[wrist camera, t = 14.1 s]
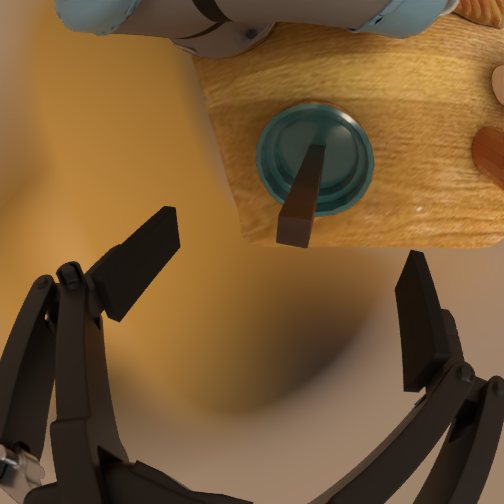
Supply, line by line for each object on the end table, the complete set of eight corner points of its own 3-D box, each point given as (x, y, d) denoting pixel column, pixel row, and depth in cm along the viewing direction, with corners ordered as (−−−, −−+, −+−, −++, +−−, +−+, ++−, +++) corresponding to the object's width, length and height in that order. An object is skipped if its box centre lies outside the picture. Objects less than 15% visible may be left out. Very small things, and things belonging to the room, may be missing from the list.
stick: (310, 143, 32) (278, 214, 16) (326, 146, 32) (312, 220, 16) (308, 158, 33) (275, 243, 18) (324, 161, 33) (307, 249, 17)
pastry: (447, 22, 18) (458, 17, 15) (429, -22, 14) (437, -31, 11) (502, 30, 14) (516, 28, 11) (486, -13, 11) (498, -19, 8)
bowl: (270, 95, 31) (258, 98, 26) (374, 110, 28) (382, 116, 23) (265, 188, 38) (253, 206, 33) (358, 204, 36) (361, 225, 31)
